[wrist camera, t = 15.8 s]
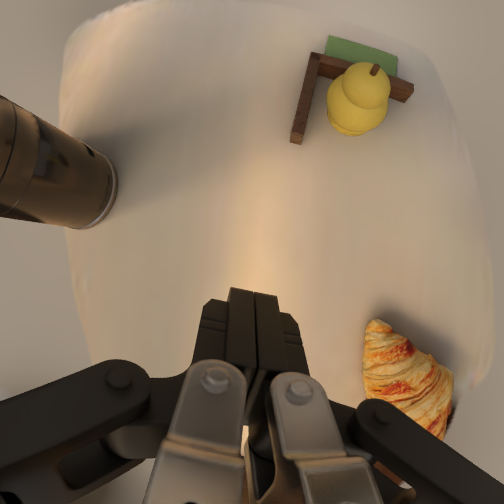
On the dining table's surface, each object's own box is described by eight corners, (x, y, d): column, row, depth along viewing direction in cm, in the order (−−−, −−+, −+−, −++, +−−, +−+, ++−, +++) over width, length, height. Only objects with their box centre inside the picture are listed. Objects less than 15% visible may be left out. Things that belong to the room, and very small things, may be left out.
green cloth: (322, 66, 32) (322, 63, 32) (328, 37, 32) (328, 35, 32) (393, 88, 32) (395, 86, 31) (395, 58, 32) (397, 56, 31)
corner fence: (289, 142, 32) (291, 132, 29) (308, 65, 32) (311, 51, 29) (396, 173, 32) (406, 166, 29) (405, 95, 32) (414, 84, 29)
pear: (317, 132, 32) (336, 84, 21) (325, 85, 32) (343, 28, 21) (373, 147, 32) (411, 107, 21) (378, 99, 32) (412, 50, 21)
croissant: (337, 326, 35) (317, 363, 28) (414, 286, 30) (415, 318, 23) (406, 444, 34) (398, 487, 27) (473, 419, 29) (476, 463, 22)
